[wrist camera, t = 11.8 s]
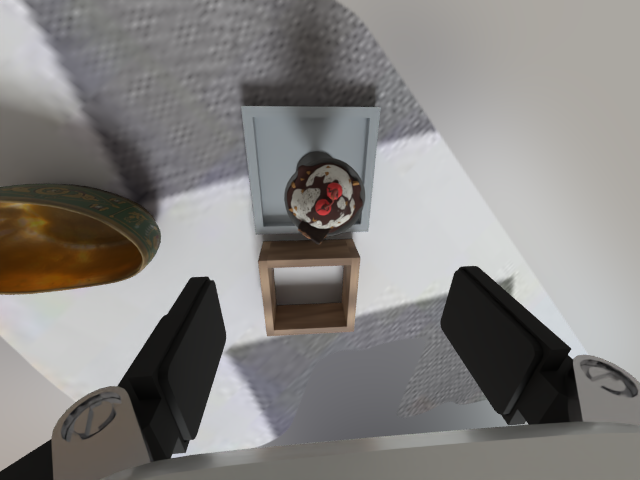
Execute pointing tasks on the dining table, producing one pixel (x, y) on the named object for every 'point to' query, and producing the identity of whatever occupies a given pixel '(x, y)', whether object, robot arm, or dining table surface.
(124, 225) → the green bowl
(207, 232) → the dining table surface
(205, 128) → the dining table surface
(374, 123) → the tray
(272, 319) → the holder
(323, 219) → the sundae
